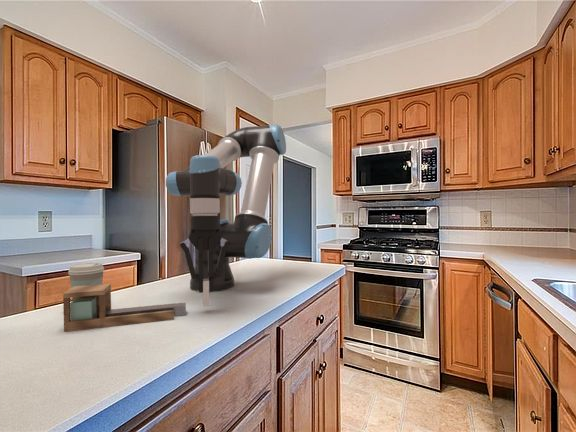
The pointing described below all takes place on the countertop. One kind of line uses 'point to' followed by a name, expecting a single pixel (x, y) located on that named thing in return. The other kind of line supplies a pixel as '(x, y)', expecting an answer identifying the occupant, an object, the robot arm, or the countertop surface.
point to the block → (83, 308)
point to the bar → (150, 310)
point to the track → (104, 310)
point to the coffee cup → (86, 274)
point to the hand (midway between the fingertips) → (205, 304)
